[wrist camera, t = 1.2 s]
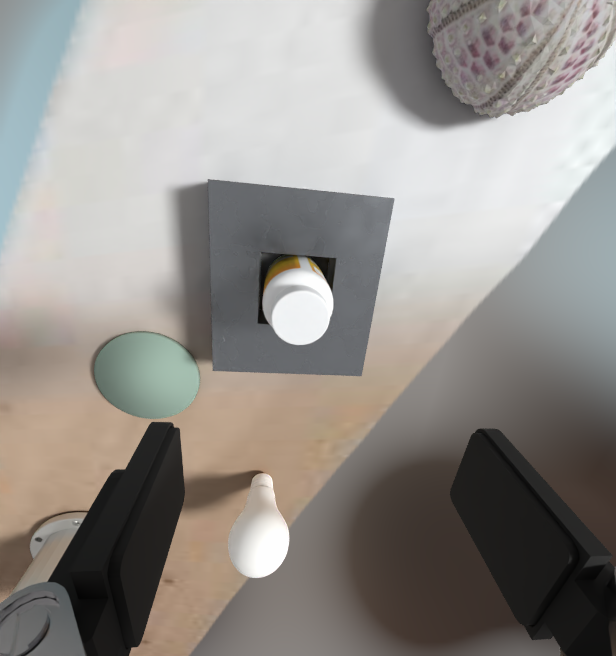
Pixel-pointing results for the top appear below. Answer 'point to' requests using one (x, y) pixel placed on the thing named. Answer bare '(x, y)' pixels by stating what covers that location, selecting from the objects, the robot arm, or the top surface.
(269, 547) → the lightbulb
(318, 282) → the supplement bottle
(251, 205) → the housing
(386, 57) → the top surface
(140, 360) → the pad
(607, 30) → the sea urchin shell
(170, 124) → the top surface
